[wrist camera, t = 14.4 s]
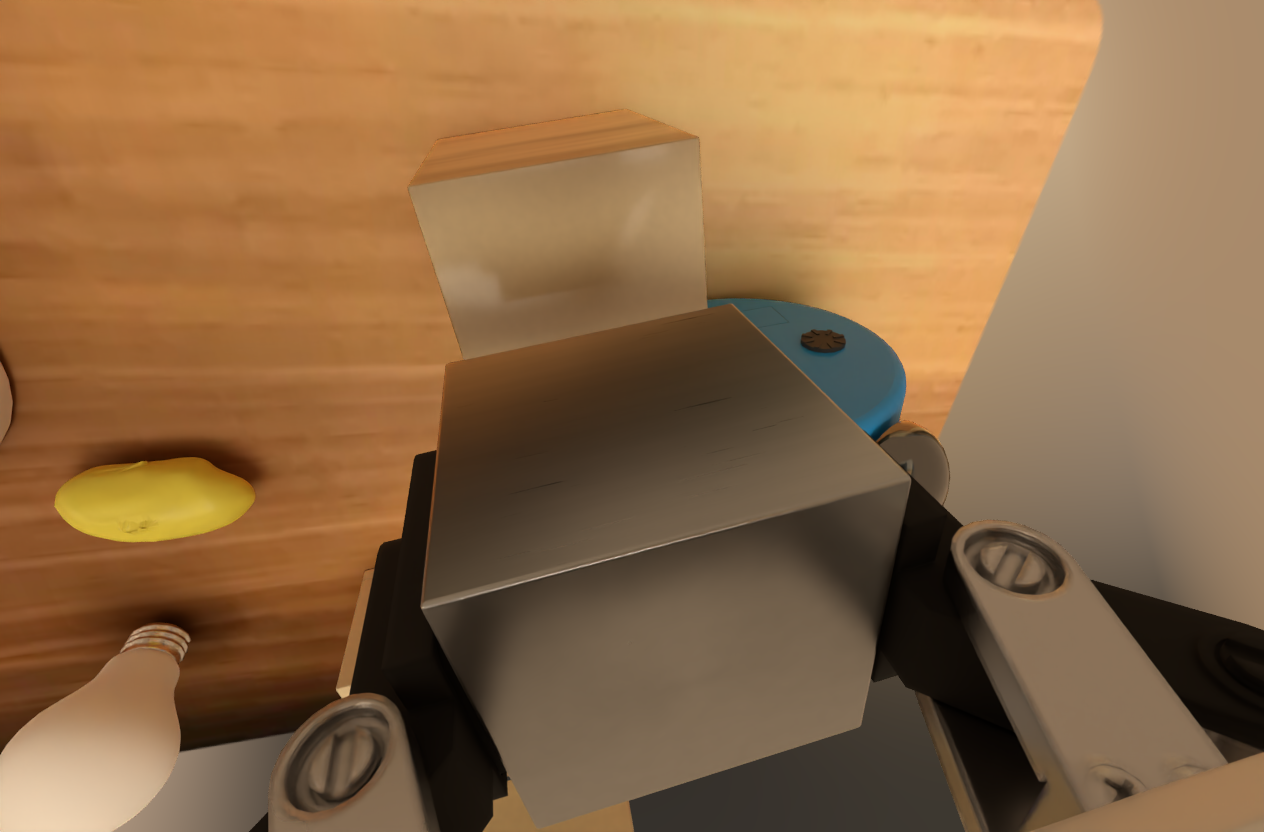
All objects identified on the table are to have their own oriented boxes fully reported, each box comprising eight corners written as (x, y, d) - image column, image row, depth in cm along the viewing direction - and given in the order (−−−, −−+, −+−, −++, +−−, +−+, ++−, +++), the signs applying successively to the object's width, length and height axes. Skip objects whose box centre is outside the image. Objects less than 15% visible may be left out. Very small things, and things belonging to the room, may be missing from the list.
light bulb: (249, 607, 34) (161, 809, 25) (211, 672, 36) (116, 880, 27) (116, 575, 31) (-40, 793, 22) (82, 649, 33) (-73, 875, 24)
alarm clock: (578, 415, 31) (636, 648, 19) (563, 311, 28) (622, 514, 16) (797, 377, 33) (980, 568, 21) (808, 275, 30) (1035, 432, 17)
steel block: (444, 362, 9) (417, 607, 5) (732, 301, 10) (914, 476, 6) (516, 567, 12) (536, 831, 8) (737, 509, 13) (862, 728, 9)
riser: (436, 139, 23) (406, 186, 15) (627, 108, 24) (699, 136, 16) (488, 319, 27) (487, 432, 19) (647, 287, 28) (712, 383, 20)
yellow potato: (67, 438, 26) (8, 492, 23) (262, 445, 28) (233, 494, 25) (93, 507, 28) (42, 565, 25) (273, 508, 30) (248, 562, 27)
